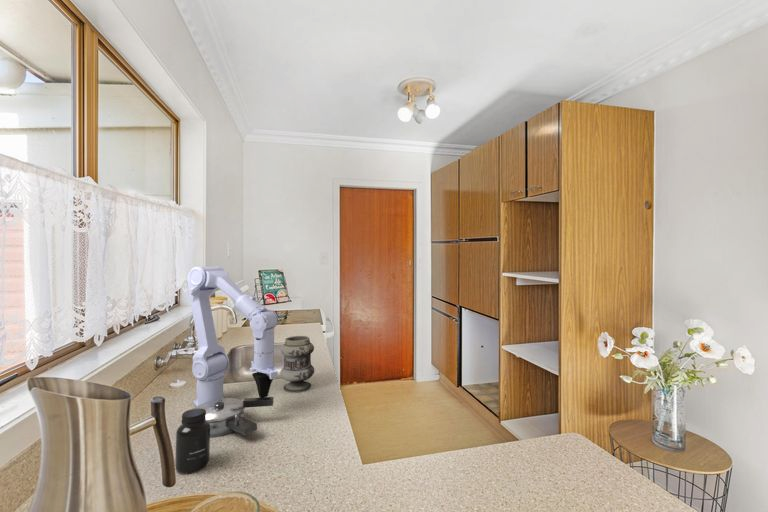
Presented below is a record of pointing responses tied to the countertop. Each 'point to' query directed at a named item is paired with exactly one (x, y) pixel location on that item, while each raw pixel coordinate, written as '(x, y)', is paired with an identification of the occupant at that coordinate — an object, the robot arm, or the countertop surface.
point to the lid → (231, 407)
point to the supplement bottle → (192, 442)
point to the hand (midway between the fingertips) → (263, 396)
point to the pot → (232, 426)
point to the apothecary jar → (297, 363)
